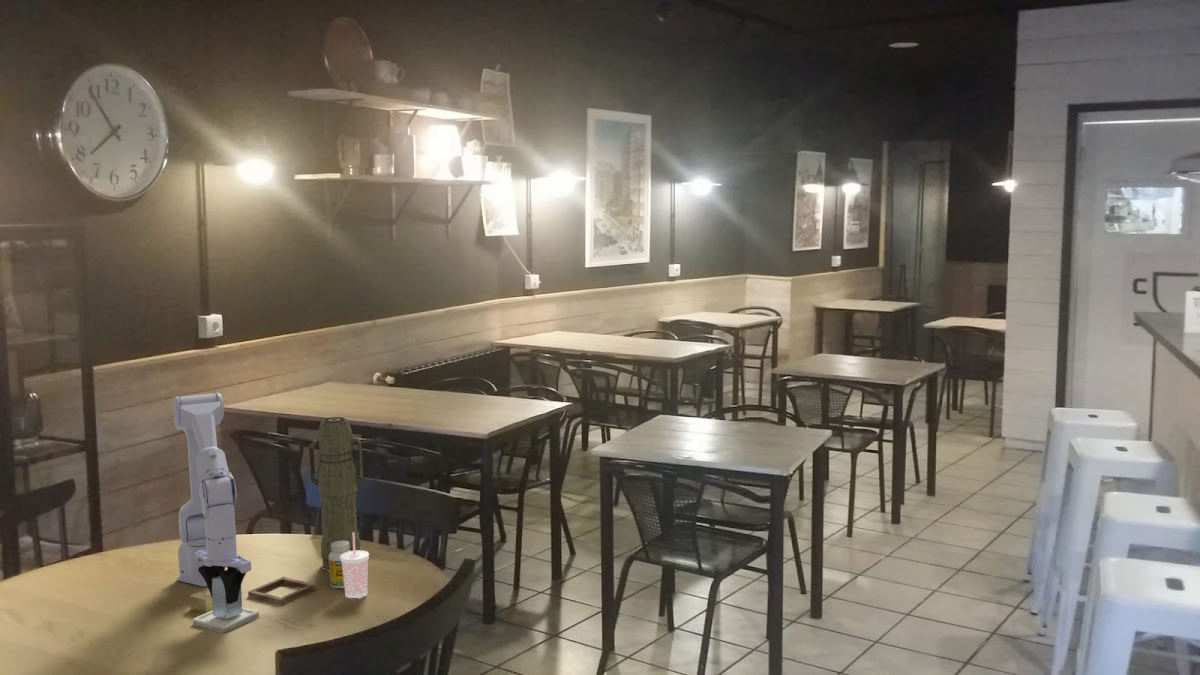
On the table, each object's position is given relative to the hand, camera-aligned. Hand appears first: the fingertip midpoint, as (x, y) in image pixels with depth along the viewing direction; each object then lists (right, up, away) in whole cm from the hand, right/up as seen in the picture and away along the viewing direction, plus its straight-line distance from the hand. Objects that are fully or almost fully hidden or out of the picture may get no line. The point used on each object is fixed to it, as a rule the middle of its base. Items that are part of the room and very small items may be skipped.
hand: (224, 600), depth 209 cm
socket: (+7, -2, +15) cm, 17 cm away
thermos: (+16, 0, +32) cm, 35 cm away
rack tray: (0, -4, +1) cm, 4 cm away
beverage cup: (+24, -3, +13) cm, 27 cm away
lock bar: (-7, -4, +6) cm, 10 cm away
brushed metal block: (0, -3, +1) cm, 3 cm away
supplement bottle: (+19, -2, +19) cm, 27 cm away
